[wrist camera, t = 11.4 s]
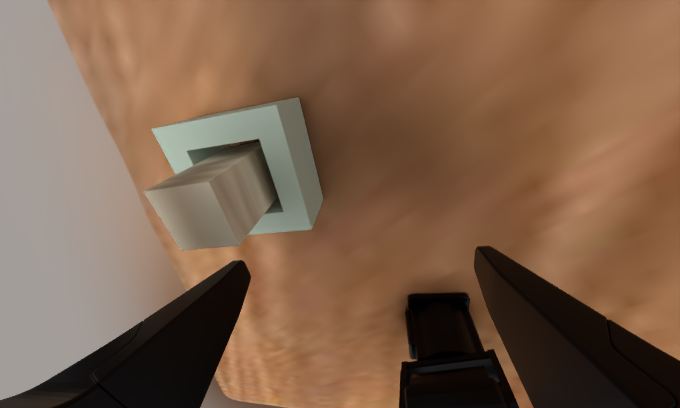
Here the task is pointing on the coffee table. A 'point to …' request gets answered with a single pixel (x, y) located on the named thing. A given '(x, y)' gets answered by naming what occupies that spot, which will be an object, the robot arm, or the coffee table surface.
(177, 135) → the green square frame
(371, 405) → the coffee table surface
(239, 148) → the beige rectangular block
